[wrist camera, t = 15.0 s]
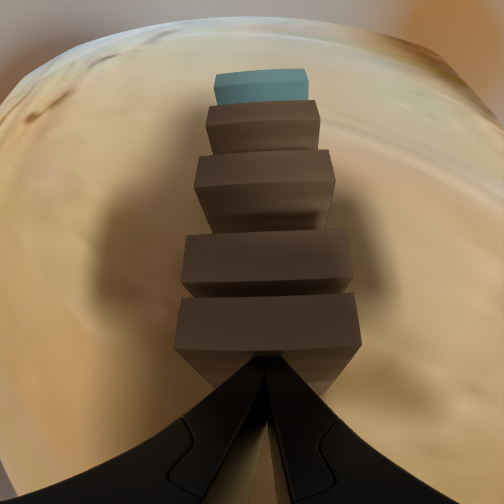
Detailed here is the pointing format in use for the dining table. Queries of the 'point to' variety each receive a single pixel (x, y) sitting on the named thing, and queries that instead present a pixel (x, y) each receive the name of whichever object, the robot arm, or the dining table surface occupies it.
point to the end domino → (261, 86)
